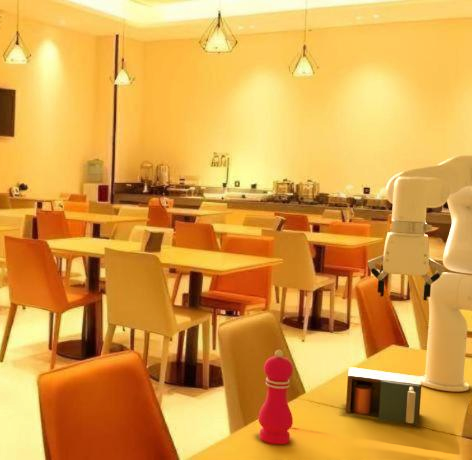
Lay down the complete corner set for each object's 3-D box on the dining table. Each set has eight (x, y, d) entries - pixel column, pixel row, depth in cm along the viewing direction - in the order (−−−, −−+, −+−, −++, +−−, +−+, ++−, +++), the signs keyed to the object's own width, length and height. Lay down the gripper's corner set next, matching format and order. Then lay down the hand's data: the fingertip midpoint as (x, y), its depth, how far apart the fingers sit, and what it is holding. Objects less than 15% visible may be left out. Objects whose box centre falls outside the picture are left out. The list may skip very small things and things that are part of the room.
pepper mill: (293, 447, 162) (298, 355, 160) (258, 443, 164) (263, 352, 162) (289, 435, 169) (294, 347, 167) (256, 432, 171) (261, 344, 169)
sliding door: (378, 419, 180) (381, 380, 179) (416, 425, 177) (419, 385, 176) (377, 428, 174) (380, 387, 173) (417, 434, 171) (420, 393, 170)
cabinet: (347, 406, 191) (349, 367, 190) (417, 416, 184) (420, 376, 183) (345, 415, 184) (347, 375, 183) (418, 426, 177) (421, 384, 176)
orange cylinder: (353, 407, 187) (354, 383, 187) (370, 409, 186) (372, 386, 185) (352, 412, 184) (354, 387, 183) (370, 414, 182) (371, 390, 182)
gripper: (447, 229, 185) (441, 298, 186) (370, 225, 192) (365, 292, 193) (448, 231, 178) (443, 303, 179) (369, 227, 185) (364, 296, 187)
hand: (403, 297), depth 186 cm, fingers open, 9 cm apart
